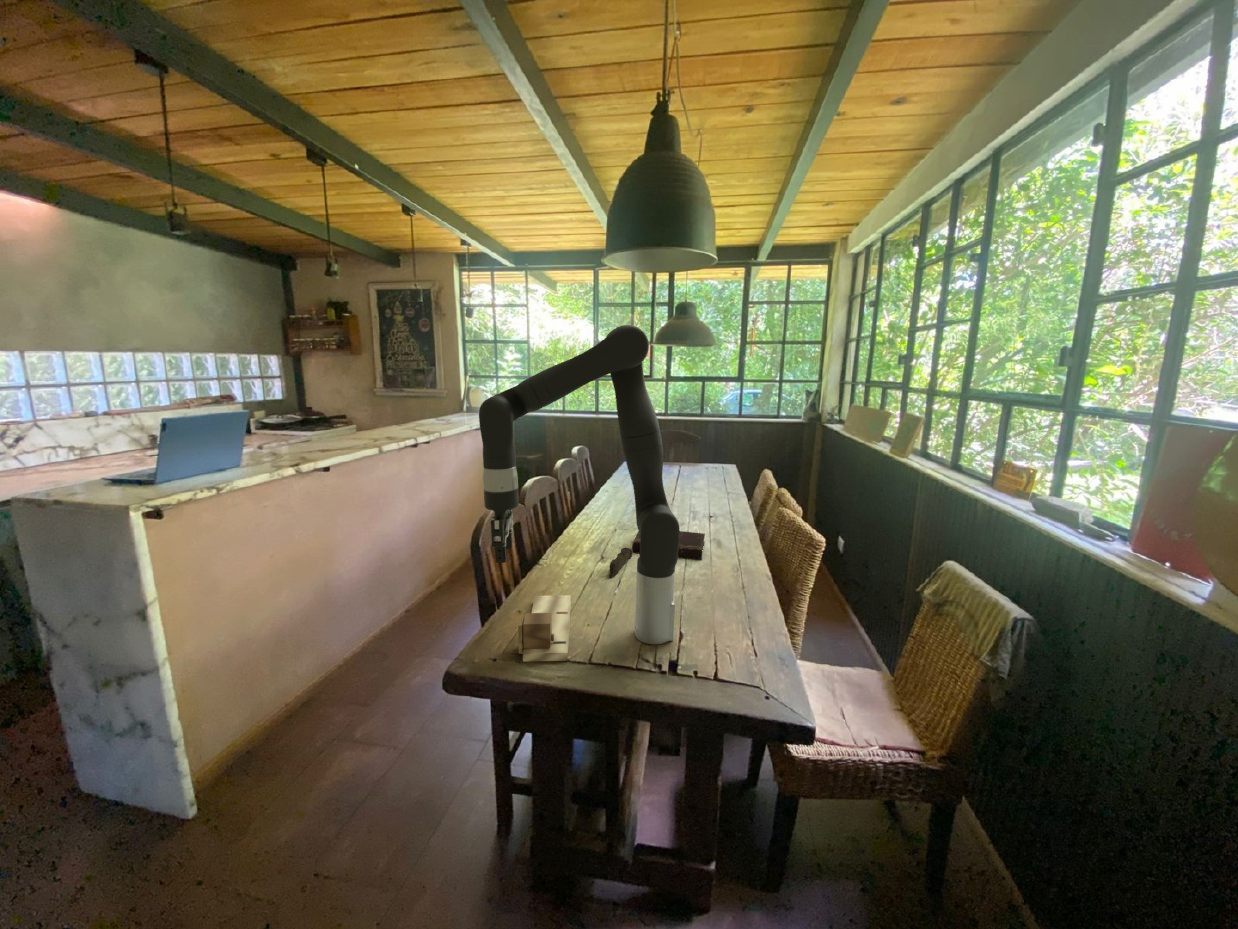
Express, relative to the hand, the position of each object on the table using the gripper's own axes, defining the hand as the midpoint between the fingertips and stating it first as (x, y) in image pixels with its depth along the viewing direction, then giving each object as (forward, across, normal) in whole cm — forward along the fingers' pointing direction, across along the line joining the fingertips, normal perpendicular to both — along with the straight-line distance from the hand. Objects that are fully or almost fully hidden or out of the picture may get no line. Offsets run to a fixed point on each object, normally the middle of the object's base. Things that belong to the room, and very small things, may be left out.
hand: (504, 555), depth 110 cm
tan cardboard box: (+22, -3, -7) cm, 23 cm away
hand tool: (+24, +45, -30) cm, 59 cm away
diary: (+25, +63, -50) cm, 84 cm away
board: (+23, +7, -9) cm, 26 cm away
